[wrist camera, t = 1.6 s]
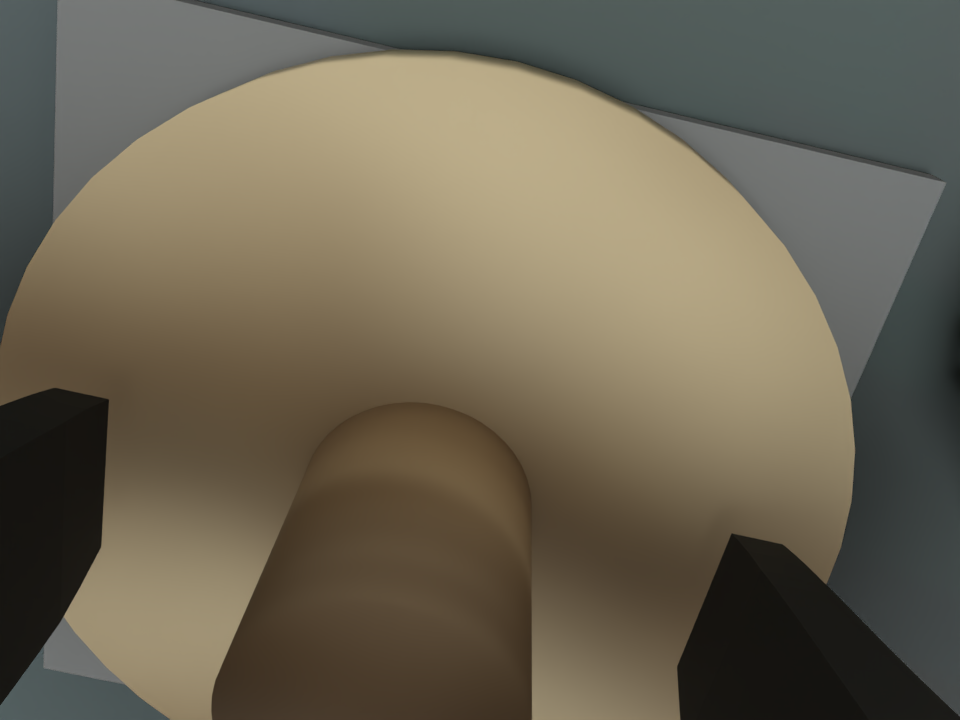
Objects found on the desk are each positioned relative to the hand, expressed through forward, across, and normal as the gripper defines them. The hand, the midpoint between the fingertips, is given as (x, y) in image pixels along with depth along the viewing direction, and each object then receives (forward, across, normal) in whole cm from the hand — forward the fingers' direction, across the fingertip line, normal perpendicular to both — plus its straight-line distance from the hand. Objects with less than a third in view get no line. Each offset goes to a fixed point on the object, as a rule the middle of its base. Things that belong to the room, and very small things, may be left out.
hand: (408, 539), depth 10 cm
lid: (+2, 0, 0) cm, 2 cm away
